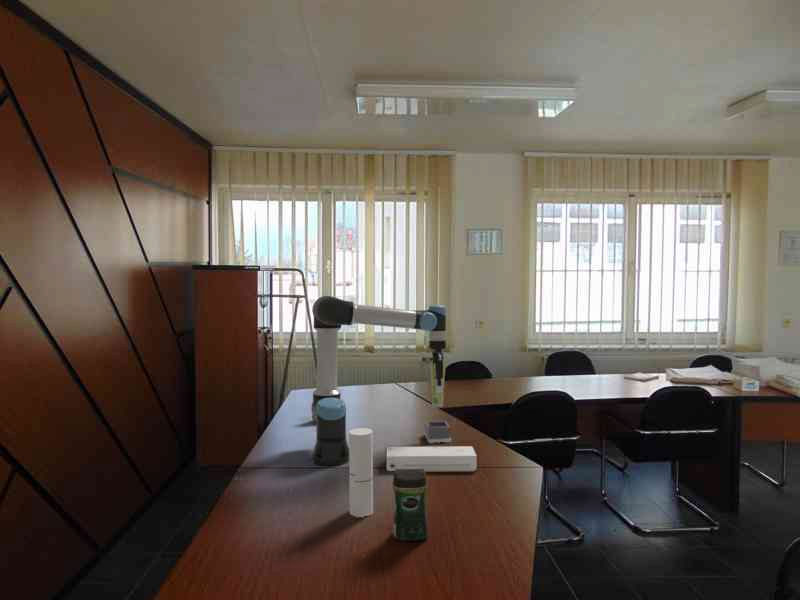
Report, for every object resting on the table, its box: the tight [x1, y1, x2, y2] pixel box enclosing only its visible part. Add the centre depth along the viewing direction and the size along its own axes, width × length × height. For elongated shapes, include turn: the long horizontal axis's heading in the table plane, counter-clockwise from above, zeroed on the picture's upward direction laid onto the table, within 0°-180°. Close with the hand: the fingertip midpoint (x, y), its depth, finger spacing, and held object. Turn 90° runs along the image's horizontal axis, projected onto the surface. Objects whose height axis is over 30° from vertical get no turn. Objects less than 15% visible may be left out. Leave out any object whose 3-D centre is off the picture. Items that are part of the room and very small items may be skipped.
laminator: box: [385, 445, 478, 472], centre depth 194 cm, size 34×12×6 cm, turn 90°
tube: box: [428, 362, 447, 408], centre depth 227 cm, size 6×5×20 cm
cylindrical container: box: [348, 427, 374, 518], centre depth 155 cm, size 7×7×25 cm
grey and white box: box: [424, 420, 452, 444], centre depth 228 cm, size 12×10×6 cm
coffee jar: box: [392, 469, 429, 542], centre depth 141 cm, size 10×8×19 cm
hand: (437, 391), depth 227 cm, fingers closed on tube, 4 cm apart
